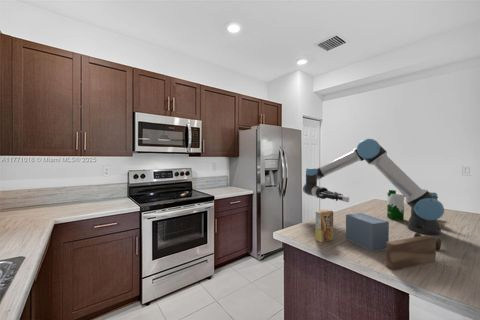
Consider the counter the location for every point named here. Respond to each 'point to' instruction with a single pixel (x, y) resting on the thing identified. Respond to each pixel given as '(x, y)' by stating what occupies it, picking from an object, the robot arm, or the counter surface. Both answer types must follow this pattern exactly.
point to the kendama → (438, 241)
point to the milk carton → (395, 205)
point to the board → (410, 252)
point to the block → (367, 231)
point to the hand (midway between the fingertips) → (348, 199)
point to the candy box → (324, 225)
